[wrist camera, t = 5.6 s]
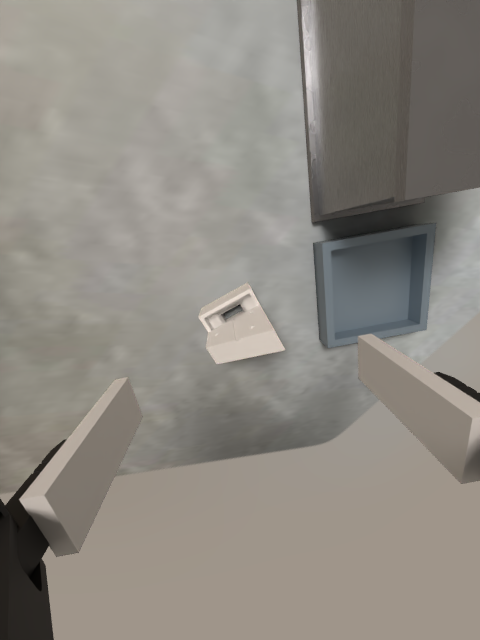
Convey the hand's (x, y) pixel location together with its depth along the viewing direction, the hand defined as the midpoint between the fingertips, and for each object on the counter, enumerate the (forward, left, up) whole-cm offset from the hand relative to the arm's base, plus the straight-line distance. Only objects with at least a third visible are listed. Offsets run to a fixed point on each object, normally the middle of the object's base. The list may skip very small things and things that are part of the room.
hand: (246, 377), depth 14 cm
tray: (+15, 0, -14) cm, 20 cm away
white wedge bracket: (0, 0, -14) cm, 14 cm away
